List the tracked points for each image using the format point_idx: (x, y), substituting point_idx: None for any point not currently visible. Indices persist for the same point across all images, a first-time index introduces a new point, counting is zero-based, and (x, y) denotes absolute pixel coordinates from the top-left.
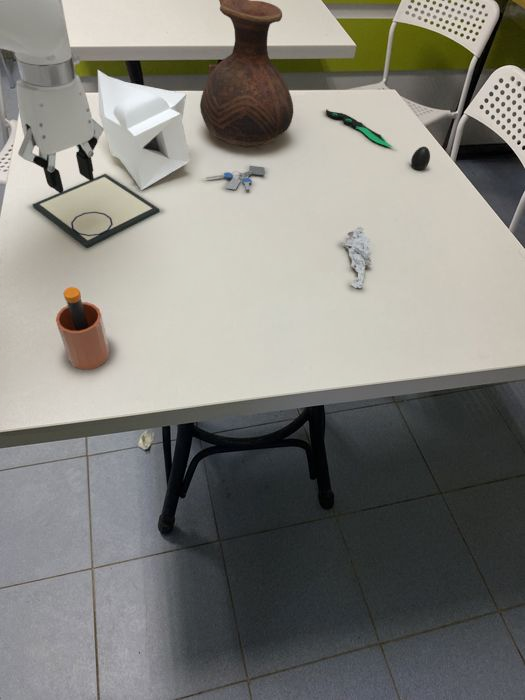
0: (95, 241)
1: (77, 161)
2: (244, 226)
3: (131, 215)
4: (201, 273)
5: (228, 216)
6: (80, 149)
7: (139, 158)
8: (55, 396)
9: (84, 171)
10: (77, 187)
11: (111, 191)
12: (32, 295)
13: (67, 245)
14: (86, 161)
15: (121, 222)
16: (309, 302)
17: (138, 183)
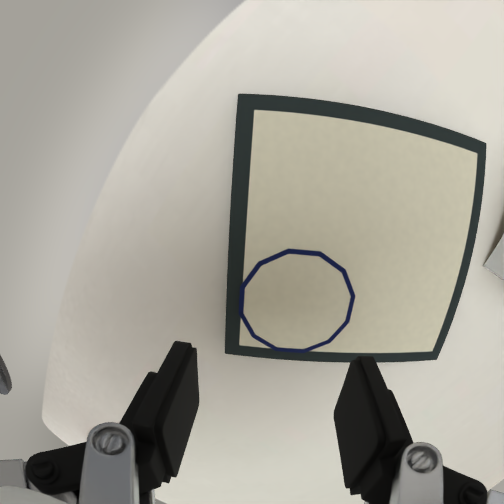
0: (251, 356)
1: (368, 405)
2: (441, 443)
3: (386, 345)
4: (312, 475)
5: (458, 420)
6: (390, 486)
7: None
8: (75, 441)
9: (345, 414)
10: (400, 125)
11: (444, 224)
12: (85, 356)
13: (198, 310)
14: (345, 485)
15: (349, 349)
16: None
17: (495, 259)
